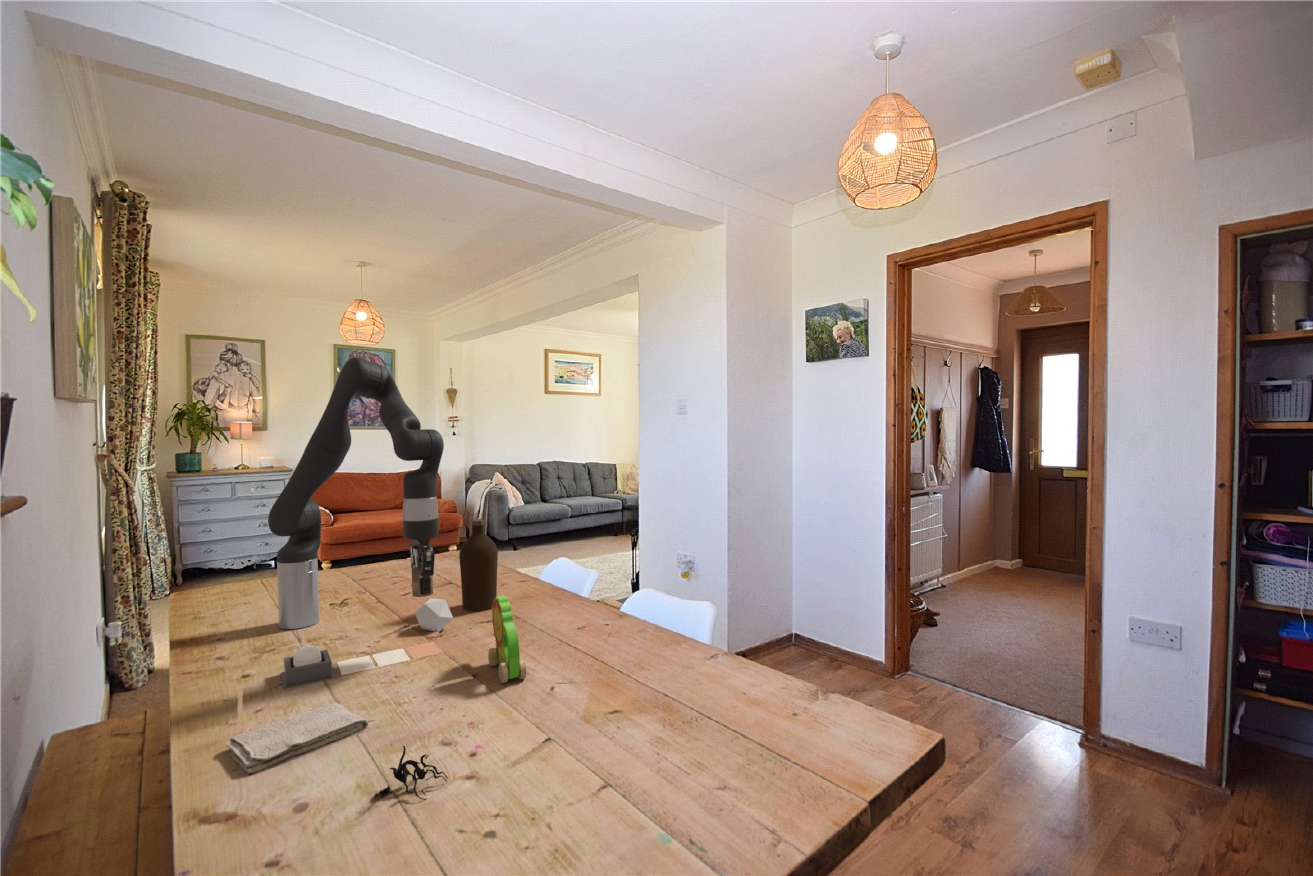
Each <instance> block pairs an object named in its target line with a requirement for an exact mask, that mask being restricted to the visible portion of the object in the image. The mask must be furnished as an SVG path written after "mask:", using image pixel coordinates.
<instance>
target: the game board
mask: <svg viewBox="0 0 1313 876" xmlns="http://www.w3.org/2000/svg"><path fill="white" fill-rule="evenodd" d="M405 650H406V651H407V652H405ZM405 650H404V649H403V648H397V649H393V650H389V651H382V652H378V653H374V654H371V655H372V657H373V659H374V661H375V663H376V665H377V667H378V668H380V667H385V666H390V665H394V664H400V663H403V662H408V661H411V658H412V659H413V660H417V659H422V658H426V657H430V656H435V655H439V654H443V653H444V651H442V649H441V648H440V647H439V646H438V645H437V644H436V643H435V641H432V642H427V643H420V644H416V645H412V646H407V647H405ZM407 653H408V654H409V655H410V657H409V656H408V654H407ZM371 655H364V656H359V657H355V658H349V659H345V660H340V661H337V662H336V663H337V666H338V668H339V671H340V674H341V676H346V675H348V674H353V673H359V672H362V671H367V670H371V669H376V666H375V664H374V662H373V660H372V658H371Z"/></svg>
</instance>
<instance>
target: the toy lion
mask: <svg viewBox="0 0 1313 876" xmlns="http://www.w3.org/2000/svg"><path fill="white" fill-rule="evenodd" d="M491 613H492V614H491V615H492V616H491V620H492V621H491V622H492V627H493V636H494V638H495V647H492V648H489V649H488V654H487V655H488V656H487V657H488V664H489V667H496V666H497V664H498V677H499V683H501V684H505V683H508V681H509V680H512V679H515V678H518V679H519V680H524V679H526V677H527V664H526V662H525V660H524V659H521V657H520V655H521V654H520V642H519V636H518V631H517V628H516V625H515V623H514V615H513V612H512V605H511V603H510V601H509V597H508V596H506V595H499V596H498V595H497V597H495V599H494V600H493V606H492V608H491Z"/></svg>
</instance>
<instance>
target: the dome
mask: <svg viewBox="0 0 1313 876" xmlns="http://www.w3.org/2000/svg"><path fill="white" fill-rule="evenodd" d="M320 651H321V650H320V648H319V647H317V646H316V645H313V644H308V645H304V646H301V647H300V648H298V649H297V650H296V652H295V653H294V655H293V656H294V658H293V668H294V667H299V666H304V665H309V664H313V663H318V662H321V652H320Z"/></svg>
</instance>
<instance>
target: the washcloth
mask: <svg viewBox="0 0 1313 876" xmlns="http://www.w3.org/2000/svg"><path fill="white" fill-rule="evenodd" d="M368 726H369V722H368V720H367V719H365V718H363V717H361V716H360V715H359V714H358V715H357V714H355V713H352V712H351V711H350V710H349V709H347V707H346V706H344V705H342V704H340V703H338V702H334V703H330V704H326V705H323V706H320V707H317V708H314V709H312V710H309V711H304V712H301V713H298V714H297V713H296V714H294V715H292V716H289V717H286V718H282V719H281V720H277V721H274V722H273V723H269V724H265V725H263V726H259V727H257V728H253V729H252V730H248V731H244V732H243V733H239V734H238V733H237V734H236V735H234V736H232V737H231V738H230V739H229V741H228V742H227V743H226V746H225V747H227V748H228V751H230V752H231V753H230V755H231V757H232V759H233V760H234V761H235V762H236V763H237V764H239V766H240V767H241V768H242V769H243V771H245V773H247V774H255V773H257V772H263V771H266V770H268V769H271V768H274V767H277V766H279V765H282V764H283V765H284V764H285V763H288V762H290V761H292V760H295V759H298V758H300V757H302V756H306V755H308V754H310V753H313V752H316V751H319V750H320V749H323V748H326V747H329V746H330V745H333V744H336V743H338V742H340V741H342V740H346V739H349V738H350V737H353V736H356V735H358V734H360V733H361V734H362V732H364V731H365V730H366V729H367V728H368Z"/></svg>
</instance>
